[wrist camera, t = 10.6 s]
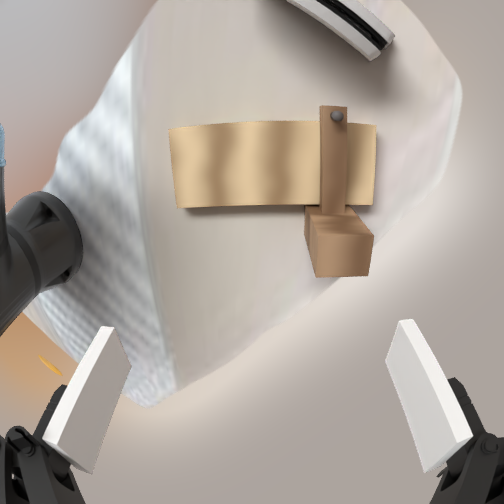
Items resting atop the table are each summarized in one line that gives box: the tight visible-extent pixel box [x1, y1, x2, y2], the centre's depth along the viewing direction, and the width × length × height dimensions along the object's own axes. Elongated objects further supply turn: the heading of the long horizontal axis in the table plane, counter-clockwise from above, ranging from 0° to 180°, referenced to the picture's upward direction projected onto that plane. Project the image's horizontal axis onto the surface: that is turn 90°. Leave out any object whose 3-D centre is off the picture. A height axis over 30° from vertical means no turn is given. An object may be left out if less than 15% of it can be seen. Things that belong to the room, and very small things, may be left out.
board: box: [169, 121, 376, 208], centre depth 30 cm, size 22×9×2 cm, turn 93°
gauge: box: [304, 106, 374, 278], centre depth 27 cm, size 5×15×10 cm, turn 2°
